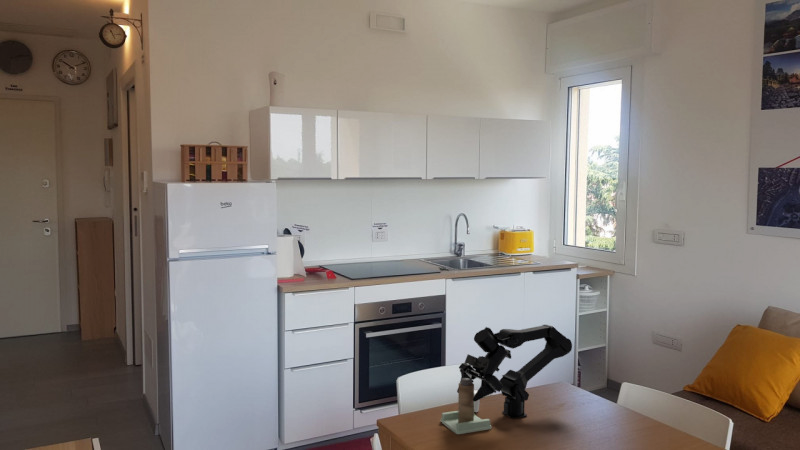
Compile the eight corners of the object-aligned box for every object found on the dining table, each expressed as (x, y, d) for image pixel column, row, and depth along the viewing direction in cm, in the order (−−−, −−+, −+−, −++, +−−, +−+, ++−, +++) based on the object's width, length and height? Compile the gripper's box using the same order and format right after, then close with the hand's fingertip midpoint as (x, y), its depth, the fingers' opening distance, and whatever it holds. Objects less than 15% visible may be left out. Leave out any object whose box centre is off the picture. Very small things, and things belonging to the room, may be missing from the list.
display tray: (473, 416, 216) (473, 408, 215) (491, 428, 205) (491, 419, 204) (440, 421, 210) (440, 413, 210) (457, 434, 199) (457, 425, 199)
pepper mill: (465, 418, 211) (465, 376, 210) (476, 422, 207) (477, 379, 207) (455, 421, 208) (455, 379, 207) (466, 426, 204) (466, 382, 203)
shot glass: (479, 414, 218) (480, 395, 218) (460, 412, 219) (460, 393, 219) (481, 407, 225) (481, 388, 224) (462, 406, 226) (462, 387, 226)
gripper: (463, 340, 217) (436, 375, 212) (496, 352, 200) (467, 390, 196) (481, 359, 221) (455, 394, 216) (514, 372, 204) (487, 410, 200)
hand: (465, 396), depth 207 cm, fingers open, 9 cm apart
